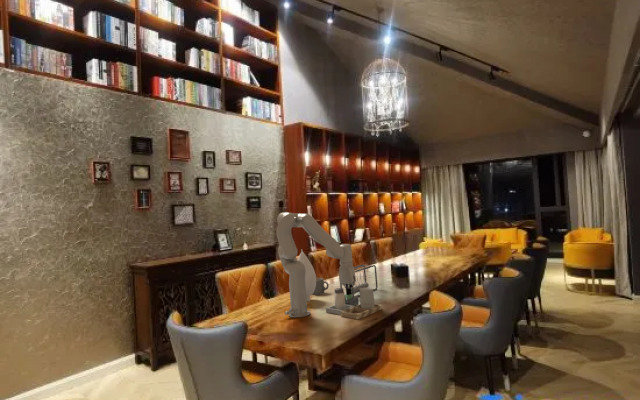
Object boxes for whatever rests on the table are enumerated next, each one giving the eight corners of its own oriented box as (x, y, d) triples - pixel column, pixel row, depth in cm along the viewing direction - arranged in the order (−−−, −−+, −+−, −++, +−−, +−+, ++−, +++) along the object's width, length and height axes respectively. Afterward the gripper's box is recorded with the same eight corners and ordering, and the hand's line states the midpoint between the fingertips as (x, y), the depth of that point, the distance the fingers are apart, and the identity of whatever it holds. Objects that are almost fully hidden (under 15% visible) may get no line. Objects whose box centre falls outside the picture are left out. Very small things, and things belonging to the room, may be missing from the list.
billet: (341, 313, 232) (339, 290, 232) (333, 311, 236) (331, 289, 236) (347, 310, 237) (346, 288, 237) (339, 309, 241) (338, 287, 241)
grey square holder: (350, 308, 242) (349, 299, 242) (340, 306, 247) (339, 298, 247) (358, 305, 247) (358, 296, 247) (348, 303, 253) (347, 295, 253)
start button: (349, 305, 244) (349, 295, 244) (344, 304, 247) (344, 294, 247) (353, 303, 247) (353, 294, 247) (348, 303, 250) (348, 293, 250)
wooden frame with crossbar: (357, 319, 218) (357, 314, 218) (340, 316, 226) (340, 311, 226) (382, 309, 234) (381, 304, 234) (365, 306, 243) (365, 302, 243)
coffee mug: (308, 294, 286) (307, 280, 286) (313, 291, 295) (312, 277, 295) (325, 295, 280) (324, 280, 280) (330, 291, 290) (329, 277, 290)
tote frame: (341, 315, 228) (341, 310, 228) (326, 312, 236) (325, 308, 236) (355, 310, 237) (354, 305, 237) (339, 307, 245) (339, 303, 245)
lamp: (289, 303, 264) (286, 249, 264) (298, 297, 279) (295, 246, 279) (312, 303, 259) (308, 249, 259) (320, 297, 274) (317, 246, 274)
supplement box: (372, 308, 238) (371, 286, 238) (375, 311, 231) (373, 289, 231) (360, 309, 238) (358, 287, 238) (362, 312, 230) (360, 290, 230)
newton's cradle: (365, 288, 293) (363, 263, 293) (378, 289, 286) (376, 264, 286) (340, 297, 270) (338, 271, 270) (353, 299, 263) (351, 272, 263)
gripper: (333, 264, 250) (335, 294, 250) (352, 266, 240) (354, 297, 239) (341, 262, 255) (343, 291, 255) (360, 264, 245) (362, 294, 245)
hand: (348, 294), depth 247 cm, fingers closed
